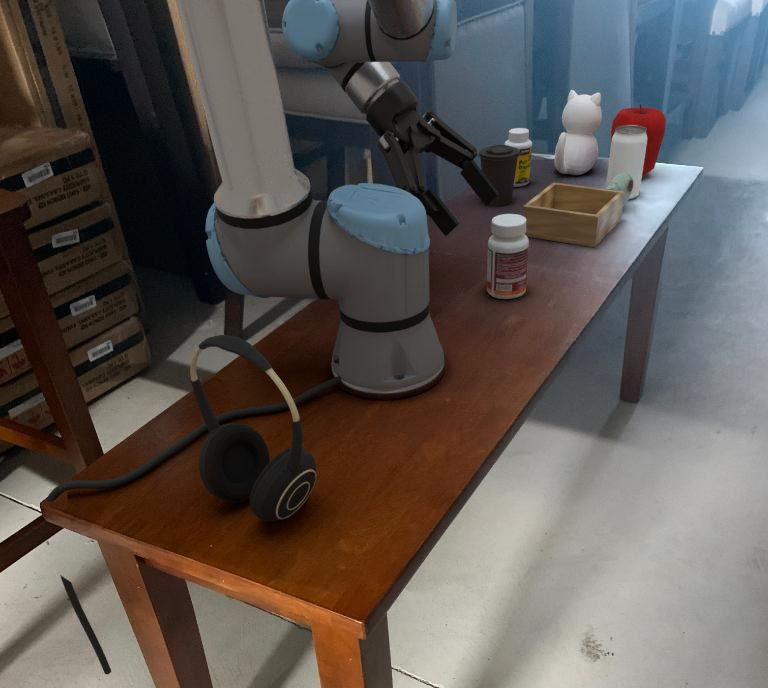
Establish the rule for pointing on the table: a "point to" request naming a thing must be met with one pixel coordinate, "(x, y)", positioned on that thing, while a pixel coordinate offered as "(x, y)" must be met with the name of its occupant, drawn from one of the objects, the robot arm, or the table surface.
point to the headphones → (252, 450)
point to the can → (628, 155)
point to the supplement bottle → (522, 142)
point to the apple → (654, 132)
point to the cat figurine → (578, 134)
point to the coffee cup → (500, 170)
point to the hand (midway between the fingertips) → (473, 214)
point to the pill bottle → (507, 257)
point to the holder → (573, 214)
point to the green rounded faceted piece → (622, 184)
